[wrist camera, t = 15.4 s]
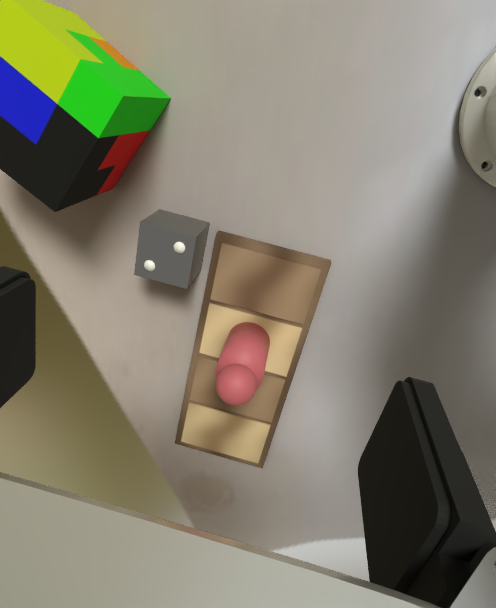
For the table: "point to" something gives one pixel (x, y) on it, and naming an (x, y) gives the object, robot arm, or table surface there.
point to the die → (171, 248)
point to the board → (260, 310)
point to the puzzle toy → (67, 104)
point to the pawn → (242, 363)
